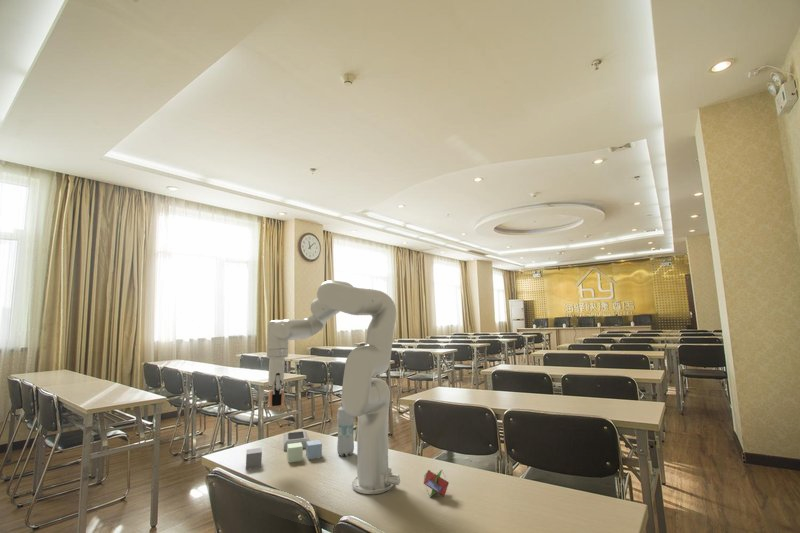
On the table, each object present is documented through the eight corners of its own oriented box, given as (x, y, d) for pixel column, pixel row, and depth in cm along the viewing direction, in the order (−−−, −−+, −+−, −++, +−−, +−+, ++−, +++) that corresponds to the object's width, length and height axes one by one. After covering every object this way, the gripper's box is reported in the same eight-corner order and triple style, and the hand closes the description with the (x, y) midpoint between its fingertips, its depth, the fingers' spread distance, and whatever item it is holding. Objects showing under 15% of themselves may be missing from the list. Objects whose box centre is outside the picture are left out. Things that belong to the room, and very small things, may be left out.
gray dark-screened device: (306, 429, 162) (308, 439, 148) (306, 437, 162) (308, 448, 148) (284, 431, 160) (283, 441, 145) (283, 440, 159) (283, 451, 145)
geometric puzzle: (457, 485, 107) (441, 459, 110) (449, 495, 101) (432, 467, 104) (439, 497, 109) (423, 472, 112) (430, 508, 103) (414, 480, 106)
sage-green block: (300, 456, 139) (300, 442, 140) (302, 460, 134) (302, 446, 135) (286, 458, 137) (287, 444, 138) (288, 463, 132) (288, 448, 133)
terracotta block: (282, 402, 139) (282, 389, 140) (283, 405, 134) (283, 391, 135) (268, 404, 137) (268, 390, 138) (269, 407, 133) (269, 392, 133)
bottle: (335, 452, 142) (335, 398, 145) (352, 450, 144) (352, 396, 147) (337, 458, 136) (338, 401, 138) (356, 456, 138) (356, 400, 140)
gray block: (260, 462, 134) (261, 447, 134) (261, 467, 129) (261, 452, 130) (246, 464, 132) (246, 449, 132) (245, 469, 127) (246, 454, 128)
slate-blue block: (319, 453, 141) (319, 439, 142) (321, 458, 137) (321, 443, 137) (306, 455, 140) (306, 441, 140) (307, 460, 135) (308, 445, 136)
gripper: (266, 352, 145) (264, 400, 142) (267, 355, 129) (266, 410, 127) (285, 351, 148) (284, 398, 145) (290, 354, 132) (288, 407, 129)
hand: (276, 403), depth 136 cm, fingers closed on terracotta block, 4 cm apart
